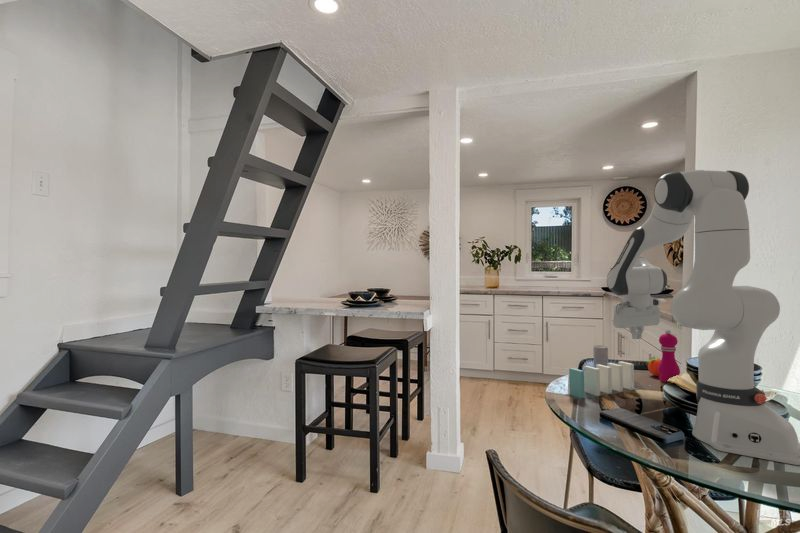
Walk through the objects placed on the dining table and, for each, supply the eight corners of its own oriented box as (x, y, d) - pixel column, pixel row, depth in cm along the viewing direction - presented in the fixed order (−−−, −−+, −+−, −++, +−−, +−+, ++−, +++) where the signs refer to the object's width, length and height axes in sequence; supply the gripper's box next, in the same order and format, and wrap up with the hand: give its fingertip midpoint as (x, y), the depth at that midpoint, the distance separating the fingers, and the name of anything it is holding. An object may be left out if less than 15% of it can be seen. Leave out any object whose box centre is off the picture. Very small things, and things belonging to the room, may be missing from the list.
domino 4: (611, 387, 151) (610, 362, 151) (623, 391, 146) (622, 365, 146) (607, 388, 150) (607, 363, 150) (619, 391, 145) (619, 366, 145)
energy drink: (605, 374, 171) (604, 345, 171) (610, 377, 166) (610, 347, 166) (591, 374, 172) (591, 345, 172) (596, 377, 166) (596, 347, 166)
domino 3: (599, 389, 148) (599, 364, 149) (611, 393, 144) (611, 367, 144) (596, 390, 148) (596, 364, 148) (608, 393, 143) (607, 367, 143)
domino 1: (573, 393, 144) (572, 367, 144) (584, 397, 139) (584, 371, 139) (569, 394, 143) (569, 368, 143) (581, 398, 139) (580, 371, 139)
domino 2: (588, 391, 146) (587, 365, 146) (600, 395, 142) (599, 368, 142) (585, 391, 146) (584, 366, 146) (596, 395, 141) (596, 369, 141)
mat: (624, 386, 154) (624, 384, 154) (639, 390, 148) (639, 389, 148) (564, 396, 143) (564, 394, 143) (577, 401, 137) (577, 399, 137)
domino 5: (621, 385, 153) (621, 361, 153) (634, 389, 148) (633, 364, 148) (618, 386, 152) (618, 361, 152) (631, 389, 147) (630, 364, 148)
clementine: (651, 378, 164) (651, 360, 164) (641, 374, 171) (641, 356, 171) (672, 378, 164) (671, 360, 164) (661, 374, 171) (661, 356, 171)
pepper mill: (680, 385, 154) (679, 331, 154) (657, 383, 158) (656, 330, 158) (679, 381, 160) (678, 329, 160) (657, 378, 164) (656, 328, 164)
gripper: (623, 303, 146) (624, 342, 146) (663, 300, 154) (663, 337, 154) (608, 301, 152) (609, 339, 152) (647, 299, 160) (647, 335, 159)
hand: (636, 338), depth 153 cm, fingers closed
